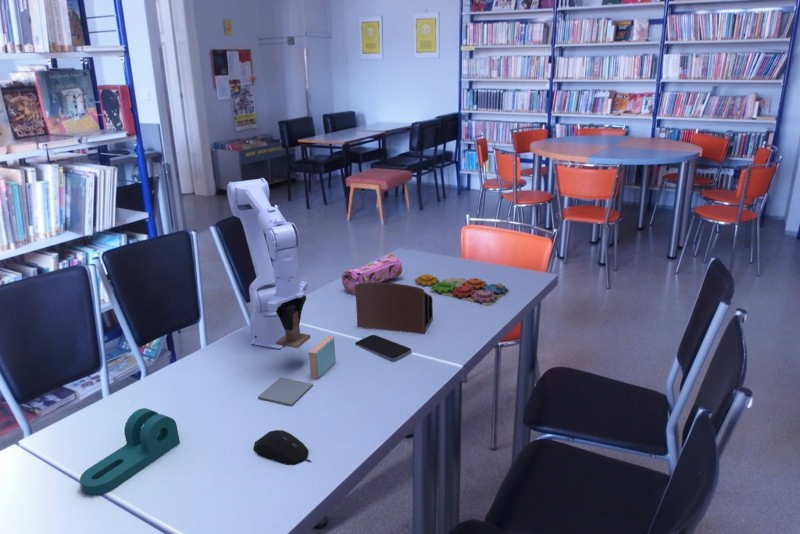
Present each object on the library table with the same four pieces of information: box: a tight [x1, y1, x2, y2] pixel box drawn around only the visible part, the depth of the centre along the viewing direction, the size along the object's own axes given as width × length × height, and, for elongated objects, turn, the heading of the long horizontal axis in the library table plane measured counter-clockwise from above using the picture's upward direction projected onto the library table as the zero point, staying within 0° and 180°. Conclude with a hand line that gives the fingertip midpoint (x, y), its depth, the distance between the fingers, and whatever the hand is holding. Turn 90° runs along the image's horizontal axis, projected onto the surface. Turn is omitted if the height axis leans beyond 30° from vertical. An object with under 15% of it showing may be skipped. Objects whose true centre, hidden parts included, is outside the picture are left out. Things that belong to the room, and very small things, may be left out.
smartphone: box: [354, 334, 412, 362], centre depth 152 cm, size 7×1×15 cm
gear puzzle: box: [414, 273, 510, 307], centre depth 189 cm, size 31×16×4 cm, turn 54°
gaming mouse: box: [253, 429, 312, 466], centre depth 112 cm, size 6×15×4 cm, turn 60°
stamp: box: [276, 310, 311, 349], centre depth 142 cm, size 6×6×8 cm
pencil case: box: [341, 253, 403, 296], centre depth 192 cm, size 21×9×9 cm, turn 137°
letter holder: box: [355, 282, 434, 335], centre depth 163 cm, size 10×20×14 cm, turn 74°
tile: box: [308, 335, 337, 380], centre depth 141 cm, size 2×9×7 cm, turn 157°
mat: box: [257, 376, 314, 407], centre depth 133 cm, size 9×9×1 cm
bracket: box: [79, 407, 181, 497], centre depth 109 cm, size 18×7×8 cm, turn 150°
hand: (291, 327), depth 142 cm, fingers closed on stamp, 2 cm apart
